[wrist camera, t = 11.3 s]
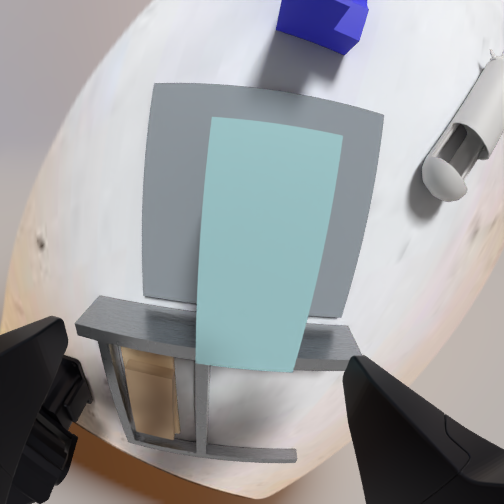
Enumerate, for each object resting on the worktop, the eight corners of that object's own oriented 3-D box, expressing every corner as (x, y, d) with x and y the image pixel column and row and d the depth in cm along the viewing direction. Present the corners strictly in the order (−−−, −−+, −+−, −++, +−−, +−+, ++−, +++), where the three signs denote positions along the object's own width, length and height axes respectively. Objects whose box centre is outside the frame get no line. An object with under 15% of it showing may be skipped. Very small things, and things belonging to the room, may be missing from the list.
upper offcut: (139, 422, 24) (136, 431, 23) (129, 358, 21) (124, 368, 20) (175, 431, 25) (173, 440, 23) (174, 369, 21) (171, 379, 20)
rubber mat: (145, 292, 19) (143, 295, 19) (156, 85, 14) (154, 83, 14) (339, 313, 20) (341, 317, 19) (380, 115, 15) (384, 114, 15)
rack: (131, 432, 26) (122, 458, 22) (99, 295, 19) (74, 323, 16) (293, 452, 27) (296, 480, 23) (348, 325, 20) (364, 359, 16)
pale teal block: (220, 266, 18) (195, 363, 9) (234, 135, 15) (211, 116, 7) (275, 272, 18) (292, 372, 10) (294, 143, 15) (343, 135, 7)
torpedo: (437, 211, 17) (496, 239, 11) (399, 166, 16) (460, 179, 10) (515, 75, 12) (563, 72, 6) (487, 35, 12) (534, 22, 5)
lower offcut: (142, 417, 26) (139, 425, 25) (125, 335, 22) (120, 343, 20) (181, 425, 26) (179, 433, 25) (175, 344, 22) (172, 354, 21)
